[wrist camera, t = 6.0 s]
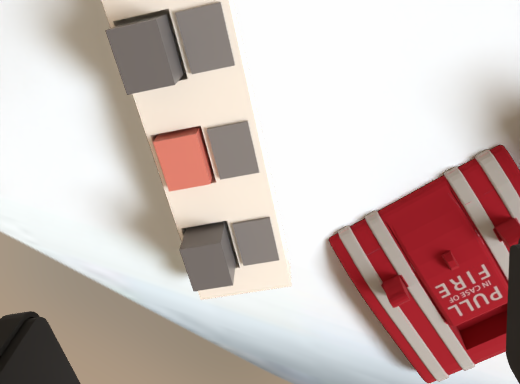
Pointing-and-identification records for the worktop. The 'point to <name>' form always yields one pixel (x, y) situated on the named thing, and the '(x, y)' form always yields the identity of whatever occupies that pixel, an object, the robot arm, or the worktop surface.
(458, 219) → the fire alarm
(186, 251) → the button
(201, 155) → the button
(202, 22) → the button panel
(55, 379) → the robot arm
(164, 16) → the button
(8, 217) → the worktop surface
